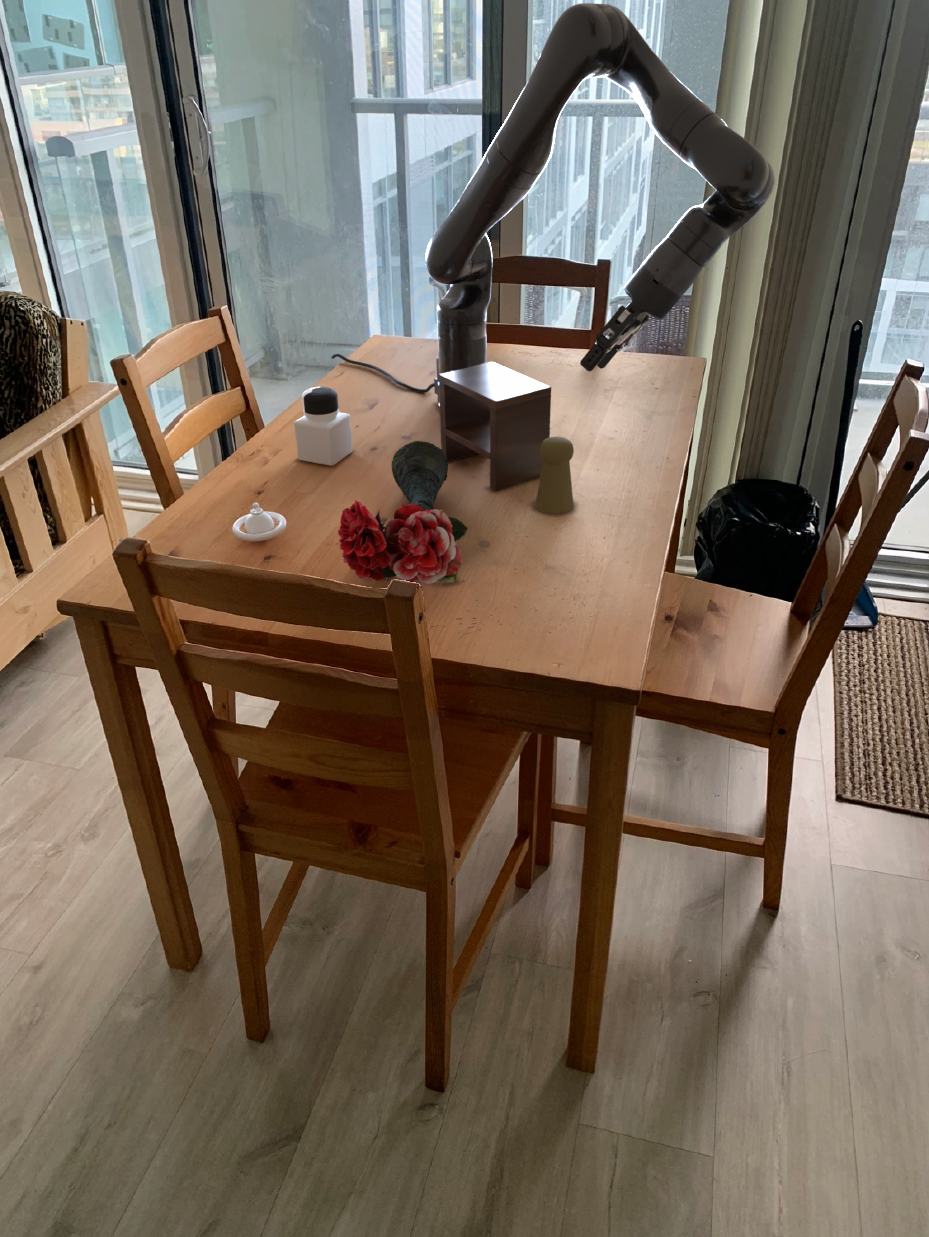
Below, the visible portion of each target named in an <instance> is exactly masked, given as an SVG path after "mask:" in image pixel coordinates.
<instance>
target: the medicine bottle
mask: <svg viewBox="0 0 929 1237" xmlns="http://www.w3.org/2000/svg"><path fill="white" fill-rule="evenodd" d="M338 396H339V395H338V392H337V390H336V389H335V388H332V387H328V386H314V387H313V386H312V387H309V388H308V389H306V390H305V391H303V392H302V394H301V404H302V409H303V416H302V417H300V418H298V419H297V420H294V422H293V426H294V434H295V442H296V451H297V458H298V460H299V461H303V462H308V463H313V464H319V465H324V466H329V467H333V466H335V465H336V464H338V463H339V462H340V461H342V460H343V459H345V458H346V457H347V456H348V455H351V453H353V451H354V449H353V437H352V426H351V424H352V423H351V415H350V414H349V413H345V412H340V408H339V406H340V405H339V397H338Z"/></svg>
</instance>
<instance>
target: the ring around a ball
mask: <svg viewBox="0 0 929 1237" xmlns="http://www.w3.org/2000/svg"><path fill="white" fill-rule="evenodd" d="M251 507H252V508H251V509H250V511H249V513H248V514H246V515H243V516H241V517H239V518H238V519H237V520H236V521H235V522H234V523H233V525H232V534H233V535H234V536H235V537H236V538H237V539H239V540H241V541H245V542H262V541H263V542H264V541H268V540H270V539H274V538H276V537H278V536H280V535H281V534H282V533H283V532H284V531H285V530H286V528H287V520H286V518H285V517H284V516H283V515H282V514H280V513H278V512H274V511H264V509H263V508H262V507H260V504H259V503H258V502H253V503H252V506H251ZM274 521H277V522H274ZM243 525H244V531H245V532H243V531H241V530H240V529H241V527H242V526H243ZM275 526H276V527H275Z"/></svg>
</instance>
